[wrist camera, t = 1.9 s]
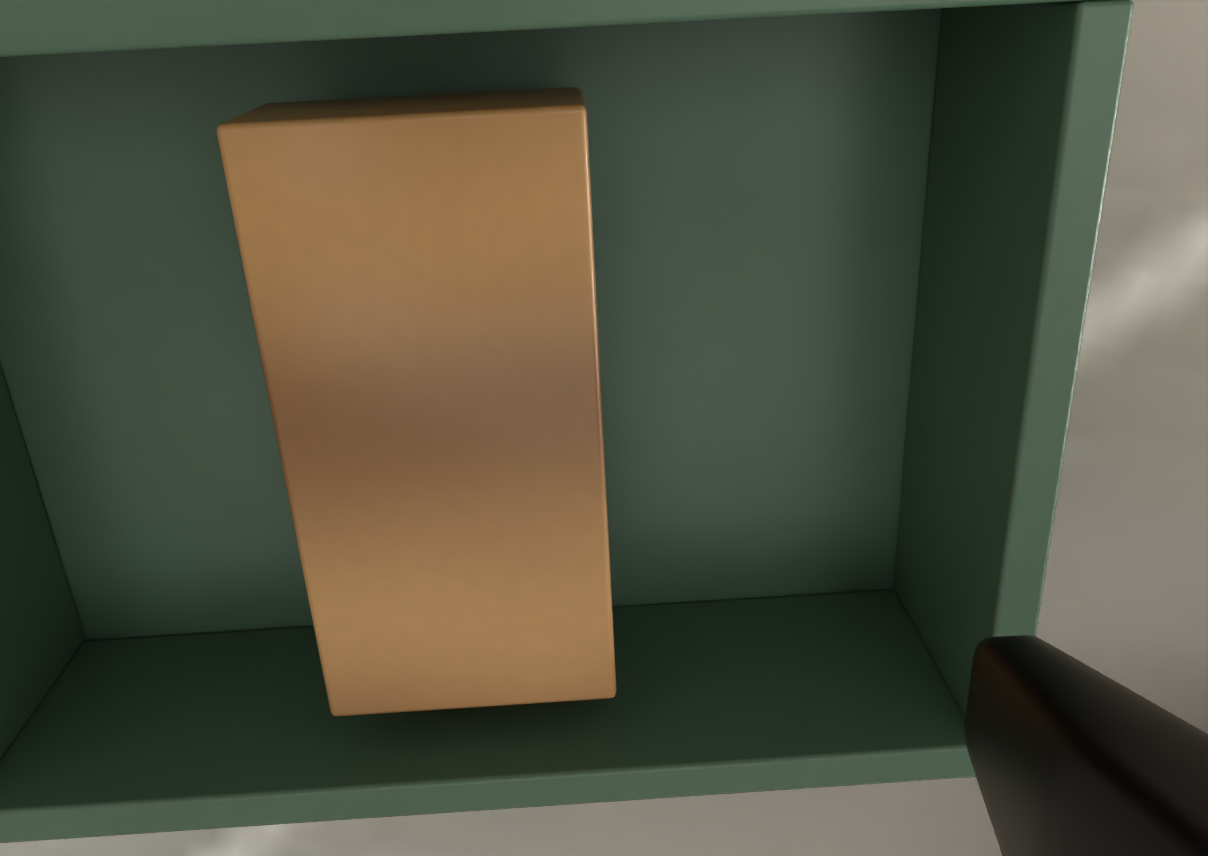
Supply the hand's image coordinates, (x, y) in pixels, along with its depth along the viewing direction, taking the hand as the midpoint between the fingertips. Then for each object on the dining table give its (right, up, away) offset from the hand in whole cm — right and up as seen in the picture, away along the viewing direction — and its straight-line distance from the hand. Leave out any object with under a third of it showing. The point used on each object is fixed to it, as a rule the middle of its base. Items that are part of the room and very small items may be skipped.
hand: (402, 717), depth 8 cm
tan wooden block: (-1, +3, +8) cm, 9 cm away
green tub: (-1, +4, +8) cm, 9 cm away
